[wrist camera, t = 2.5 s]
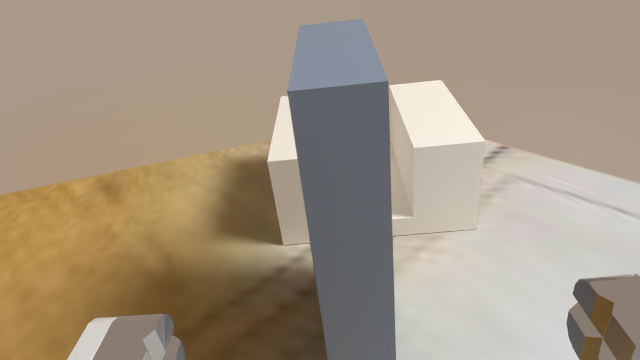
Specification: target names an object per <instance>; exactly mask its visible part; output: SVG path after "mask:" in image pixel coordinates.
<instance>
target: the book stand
mask: <svg viewBox="0 0 640 360" xmlns="http://www.w3.org/2000/svg"><path fill="white" fill-rule="evenodd" d="M389 102H390V140H391V142H390V165H391V202H392V236H399V235H411V234H423V233H435V232H447V231H459V230H471V229H477V223H478V213H479V203H480V192H481V182H482V172H483V161H484V151H485V140H484V139H483V137H482V136H481V135H480V133H479V132H478V130H477V129H476V128H475V126H474V125H473V123H472V122H471V121H470V119H469V118H468V117H467V115H466V114H465V112H464V111H463V110H462V108H461V107H460V106H459V104H458V103H457V101H456V100H455V99H454V97H453V96H452V94H451V93H450V92H449V90H448V89H447V88H446V86H445V85H444V83H443V82H442V81H441V80H438V81H428V82H418V83H409V84H399V85H390V86H389ZM267 163H268V168H269V174H270V179H271V184H272V189H273V194H274V200H275V205H276V210H277V215H278V220H279V226H280V231H281V236H282V241H283V245H290V244H302V243H310V239H309V232H308V225H307V219H306V212H305V205H304V199H303V192H302V186H301V179H300V172H299V166H298V159H297V152H296V146H295V139H294V133H293V126H292V119H291V113H290V106H289V99H288V96H282V97H281V100H280V105H279V110H278V115H277V119H276V124H275V128H274V133H273V137H272V142H271V146H270V151H269V156H268V160H267Z"/></svg>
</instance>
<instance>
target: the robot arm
mask: <svg viewBox="0 0 640 360" xmlns="http://www.w3.org/2000/svg"><path fill="white" fill-rule="evenodd" d="M573 295H574V297H575V298H576V300H577V301H578V303H577V304H575V305H574V306H573V307H572V308H571V309H570V310H569V313H568V318H567V328H568V335H569V339H570V341H571V344H572V347H573V349H574V350H575V352H576V354H577V356H578V358H579V359H580V360H640V274H634V275H619V276H608V277H598V278H587V279H579V281H578V282H577V283H576V284H575V287H574V291H573ZM174 327H175V325H174V323H173V320H172V318H171V316H170V315H169V314H150V315H132V316H119V317H105V318H95V319H94V320H92V321H91V322H90V323H88V325H87V326H86V328H85V330H84V332H83V333H82V335H81V337H80V338H79V340H78V342H77V343H76V345H75V347H74V349H73V350H72V352H71V354H70V355H69V357H68V359H67V360H186V357H185V350H184V347H183V344H182V342H181V340H179V339H178V338H177V337H175V336H174V335H172V333H173V330H174Z"/></svg>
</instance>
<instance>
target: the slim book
mask: <svg viewBox="0 0 640 360" xmlns="http://www.w3.org/2000/svg"><path fill="white" fill-rule="evenodd" d="M287 92H288V99H289V106H290V113H291V119H292V126H293V133H294V139H295V146H296V152H297V159H298V166H299V172H300V179H301V186H302V192H303V199H304V205H305V212H306V219H307V225H308V232H309V239H310V245H311V252H312V258H313V265H314V272H315V278H316V285H317V292H318V298H319V305H320V311H321V318H322V325H323V331H324V338H325V345H326V351H327V358H328V360H396V348H395V311H394V275H393V238H392V202H391V165H390V129H389V92H388V80H387V77H386V75H385V72H384V70H383V67H382V64H381V62H380V60H379V57H378V55H377V52H376V50H375V47H374V45H373V42H372V40H371V37H370V35H369V32H368V30H367V27H366V25H365V22H364V20H363V19H357V20H349V21H339V22H330V23H321V24H312V25H303V26H300V27H299V32H298V37H297V43H296V48H295V53H294V59H293V64H292V70H291V74H290V80H289V86H288V91H287Z"/></svg>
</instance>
